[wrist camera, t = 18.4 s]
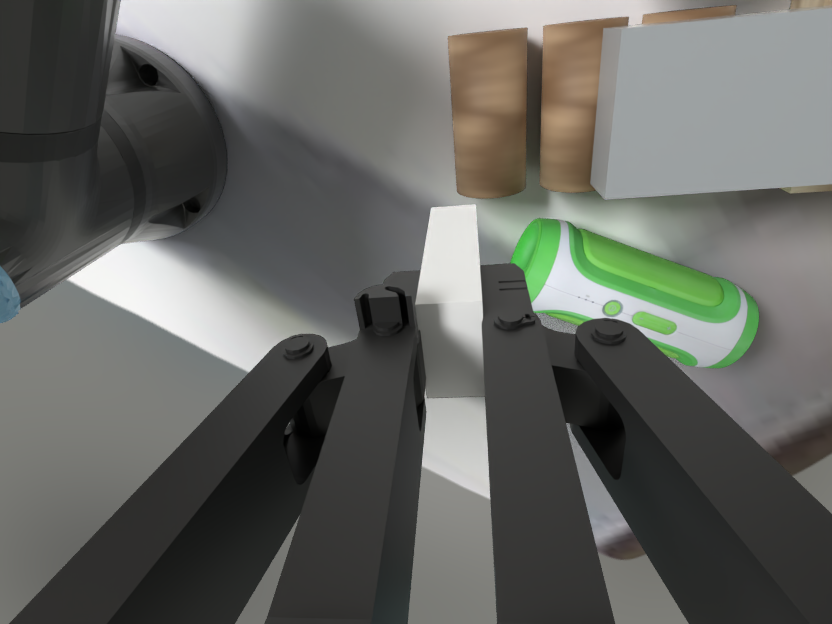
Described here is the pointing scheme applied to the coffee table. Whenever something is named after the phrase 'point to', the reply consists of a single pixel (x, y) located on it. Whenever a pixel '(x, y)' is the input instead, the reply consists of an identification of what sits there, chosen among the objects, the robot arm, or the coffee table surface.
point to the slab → (715, 105)
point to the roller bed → (507, 103)
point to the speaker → (635, 293)
